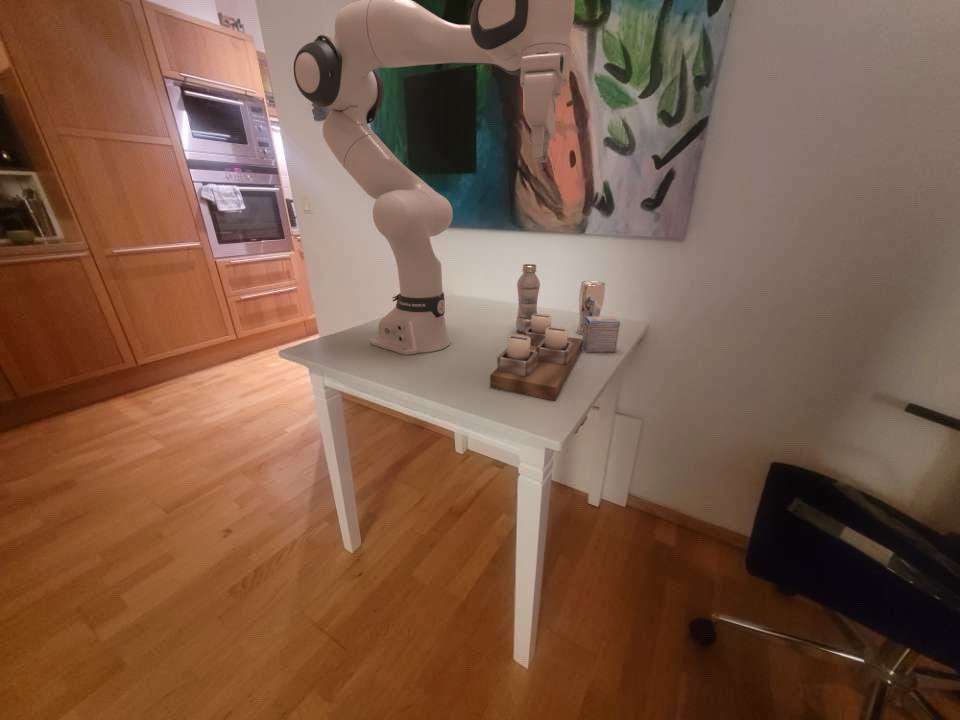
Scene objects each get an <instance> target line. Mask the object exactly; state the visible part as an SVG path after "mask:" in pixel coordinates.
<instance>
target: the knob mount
mask: <svg viewBox="0 0 960 720" xmlns="http://www.w3.org/2000/svg"><path fill="white" fill-rule="evenodd" d="M522 335H525V336H528V337H530V338H531V343H530V357H529V358H528V359H526V360H515V359H509V358H508V357H507V347H506V348H505V349H504V350H503V351H502V352H501V353H500V354H499V355H498V356H497V357H496V361H497V363H496V369H495V370H494V371H492V372H491V373H490V374H489V375H490V376H489V379H490V380H489V384H490V385H489V387H490V388H491V389H496V390H501V391H505V392H510V393H514V394H520V395H525V396H530V397H534V398H539V399H543V400H549V401H554V402H555V401H557V398H558V396H559V394H560V392H561V390H562V388H563V387H564V385H565V382H566V381H567V379H568V377H569V375H570V373H571V371H572V369H573V368H572V367H574V365H575V363H576V362H577V360H578V358H579V356H580V354H581V352H582V350H583V347H582V344H583V338H578V337H577V338H575V337H570V336H567V347H566V349H563V350H555V349H549V348H546V347H545V346H544V345H545V334H538V333H532V332H531V325H530V326H529V327H528V328H527V329H526V330H525V331H524V333H522Z"/></svg>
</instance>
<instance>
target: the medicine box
mask: <svg viewBox="0 0 960 720" xmlns="http://www.w3.org/2000/svg"><path fill="white" fill-rule="evenodd" d="M620 325H621V321H620V320H619V319H618V318H617V317H615V316H611V315H610V316H609V315H608V316H599V317H585V323H584V332H583V335H582V339H583V344H582V349H583V348H584V349H583V350H584V352H585V353H612V352H613V353H614V352H616V350H617V344H618V337H619V331H620Z"/></svg>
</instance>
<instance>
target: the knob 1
mask: <svg viewBox="0 0 960 720" xmlns="http://www.w3.org/2000/svg"><path fill="white" fill-rule="evenodd" d="M530 343H531V338H530V337H528V336H525V335H523V334H511V335H509V336H507V338H506V348H507V357H508V358H509V359H515V360H526V359H528V358H529V357H530Z"/></svg>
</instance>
